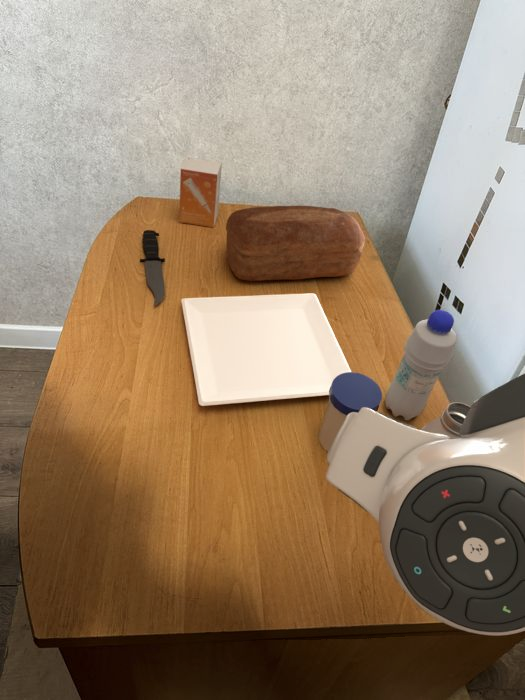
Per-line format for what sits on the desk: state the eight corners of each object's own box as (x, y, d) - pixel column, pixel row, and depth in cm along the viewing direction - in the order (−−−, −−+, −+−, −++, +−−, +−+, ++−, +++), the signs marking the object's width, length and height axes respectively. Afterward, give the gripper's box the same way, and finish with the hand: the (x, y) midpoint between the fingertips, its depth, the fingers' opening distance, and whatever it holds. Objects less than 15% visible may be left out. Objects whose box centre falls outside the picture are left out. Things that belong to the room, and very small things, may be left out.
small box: (179, 223, 120) (179, 168, 111) (184, 209, 125) (185, 156, 116) (214, 228, 120) (217, 174, 111) (218, 214, 125) (222, 161, 116)
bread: (218, 250, 114) (222, 198, 105) (339, 245, 121) (351, 196, 113) (232, 289, 104) (237, 235, 96) (362, 281, 112) (377, 230, 103)
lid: (375, 382, 77) (378, 374, 76) (382, 420, 72) (385, 412, 70) (327, 377, 76) (329, 369, 75) (330, 415, 71) (333, 407, 70)
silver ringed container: (393, 478, 76) (441, 383, 63) (438, 502, 74) (498, 410, 60) (377, 511, 72) (425, 417, 58) (424, 538, 70) (485, 447, 56)
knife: (172, 302, 97) (144, 303, 95) (172, 309, 98) (145, 310, 96) (160, 229, 114) (136, 230, 113) (160, 236, 115) (136, 236, 114)
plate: (358, 399, 87) (361, 391, 85) (198, 413, 80) (199, 404, 79) (313, 300, 105) (315, 292, 103) (180, 306, 99) (181, 297, 97)
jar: (358, 423, 83) (376, 378, 76) (363, 458, 78) (382, 413, 71) (317, 419, 82) (330, 373, 75) (319, 454, 78) (334, 408, 71)
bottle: (387, 424, 83) (429, 329, 70) (376, 392, 88) (414, 298, 75) (427, 424, 84) (476, 331, 71) (414, 393, 89) (458, 299, 76)
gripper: (627, 545, 34) (567, 514, 47) (344, 395, 40) (361, 404, 54) (581, 632, 34) (534, 576, 47) (306, 468, 40) (332, 459, 53)
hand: (440, 484), depth 50 cm, fingers open, 8 cm apart
